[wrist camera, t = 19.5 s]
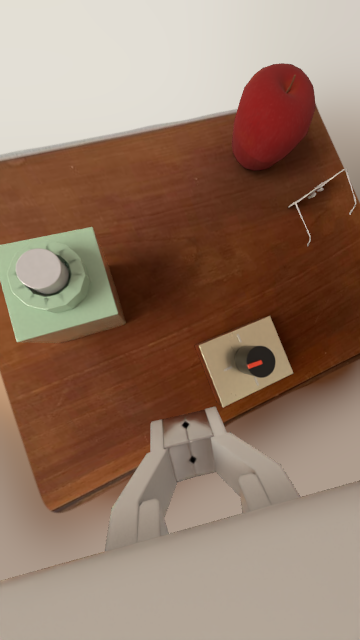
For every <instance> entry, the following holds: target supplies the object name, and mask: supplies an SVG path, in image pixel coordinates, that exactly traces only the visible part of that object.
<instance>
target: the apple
mask: <svg viewBox="0 0 360 640" xmlns="http://www.w3.org/2000/svg"><path fill="white" fill-rule="evenodd" d="M314 111H315V96H314V89H313V85H312V84H311V82H310V80H309V78H308V77H307V75H306V74H305V73H304V72H303V71H302V70H301V69H299V68H298V67H295V66H294V65H291V64H273V65H271V66H268V67H265V68H262V69H261V70H260V71H258V72H257V73H256V74H255V75H254V76H253V77H252V78H251V80H250V81H249V83H248V84H247V85H246V86H245V88H244V91H243V94H242V97H241V100H240V103H239V107H238V110H237V114H236V117H235V120H234V128H233V137H232V149H233V153H234V156H235V158H236V160H237V161H238V162H239V163H240V164H241V165H242V166H243V167H244V168H247V169H250V170H264V169H267V168H269V167H271V166H272V165H274V164H275V163H277V162H278V161H280V160H281V159H283V158H284V157H285V156H286V155H287V154H289V153H290V152H291V151H292V150H293V149H294V148H295V146H296V145H297V144H298V143H299V142H300V141H301V140H302V139H303V138H304V137H305V136H306V134H307V132H308V129H309V126H310V123H311V121H312V118H313V114H314Z"/></svg>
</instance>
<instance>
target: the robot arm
mask: <svg viewBox="0 0 360 640" xmlns="http://www.w3.org/2000/svg"><path fill="white" fill-rule="evenodd" d="M214 472H217V474H218V475H219V476H220V477H221V478H222V479H223V480H224V481H225V482H226V483H227V484H228V485H229V486H230V487H231V488H232V489H233V490H234V491H235V492H236V493H237V494H238V495H239V496H240V497H241V505H242V514H238V515H235V516H231V517H227V518H224V519H220V520H217V521H213V522H210V523H206V524H203V525H199V526H195V527H192V528H188V529H185V530H181V531H177V532H174V533H170V534H169V533H168V530H167V526H166V523H165V520H164V517H165V515H166V512H167V509H168V506H169V504H170V501H171V498H172V495H173V493H174V490H175V487H176V485H177V483H176V482H179V481H183V480H186V479H190V478H193V477H196V476H201V475H205V474H210V473H214ZM0 640H360V481H357V482H353V483H349V484H346V485H342V486H339V487H335V488H332V489H328V490H324V491H321V492H317V493H314V494H310V495H306V496H303V497H300V495H299V493H298V492H297V490H296V488H295V487H294V485H293V484H292V482H291V480H290V479H289V477H288V476H287V474H286V472H285V471H284V469H283V468H282V466H281V464H279V463H278V462H276V461H275V460H273V459H272V458H270V457H268V456H267V455H265V454H264V453H262V452H260V451H259V450H257V449H256V448H254V447H253V446H251V445H249V444H248V443H246V442H245V441H243V440H242V439H240V438H238V437H237V436H235V435H234V434H232V433H227V432H226V430H225V427H224V425H223V422H222V420H221V418H220V416H219V413H218V411H217V409H216V407H211V408H207V409H205V410H200V411H196V412H192V413H188V414H184V415H179V416H175V417H170V418H166V419H162V420H157V421H153V422H151V452H150V453H147V454H146V456H145V457H144V459H143V460H142V462H141V464H140V465H139V467H138V468H137V470H136V471H135V473H134V474H133V476H132V477H131V479H130V481H129V482H128V484H127V485H126V487H125V488H124V490H123V491H122V493H121V495H120V496H119V498H118V499H117V501H116V502H115V504H114V505H113V507H112V508H111V515H110V521H109V527H108V533H107V540H106V546H105V552H102V553H98V554H94V555H91V556H87V557H84V558H80V559H77V560H73V561H69V562H66V563H62V564H59V565H55V566H51V567H48V568H44V569H41V570H37V571H34V572H30V573H27V574H23V575H19V576H16V577H12V578H8V579H5V580H1V581H0Z"/></svg>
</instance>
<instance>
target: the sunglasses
mask: <svg viewBox="0 0 360 640" xmlns="http://www.w3.org/2000/svg"><path fill="white" fill-rule="evenodd" d="M344 170H345V171H346V174H347V177H348V180H349V183H350V186H351V182H350V179H349V175H348V172H347V168H345V169H343V170H342V171H344ZM342 171H340V172H339V173H341V172H342ZM339 173H338V174H339ZM338 174H336V175H338ZM336 175H335V176H336ZM335 176H333V177H331V178H330V179H328V180H327V181H325V182H323V183H322V184H320V185H319V186H317V187H316V188H315V189H314V190H313V191H311V192H310V193H308V194H307V195H309V194H311V193H313V194H311V195H310V196H309V197H308V199H310V198H312V197H314V196H315V195H316V193H314V191H315V190H317V189H319V188H320V187H322V186H324V185H325V184H326V183H327V182H328V181H330V180H331V179H332V178H334V177H335ZM351 189H352V186H351ZM323 190H324V189H323V188H320V189H319V190H317V191H318V192H320V191H323ZM352 192H353V190H352ZM307 195H305V196H304V197H302V198H300V199H299V200H297V201H295V202H294V203H292V204H291V205H290V206H288V208H289V207H291V206H292V205H294V204H295V205H296V208H297V210H298V212H299V214H300V216H301V218H302V215H301V213H300V211H299V208H298V206H297V202H299V201H300V200H302V199H303V198H305V197H306V196H307ZM353 196H354V200H355V205H356V199H355V195H354V193H353ZM355 205H354V207H355ZM354 207H353V209H354ZM353 209H352V210H351V212H352V211H353ZM351 212H350V213H349V214H351ZM302 220H303V218H302ZM303 223H304V220H303ZM304 225H305V223H304ZM305 227H306V225H305ZM306 229H307V228H306ZM307 232H308V234H309V231H308V230H307ZM309 237H310V240H311V236H310V234H309ZM310 240H309V242H308V244H307V246H308V245H309V243H310Z"/></svg>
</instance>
